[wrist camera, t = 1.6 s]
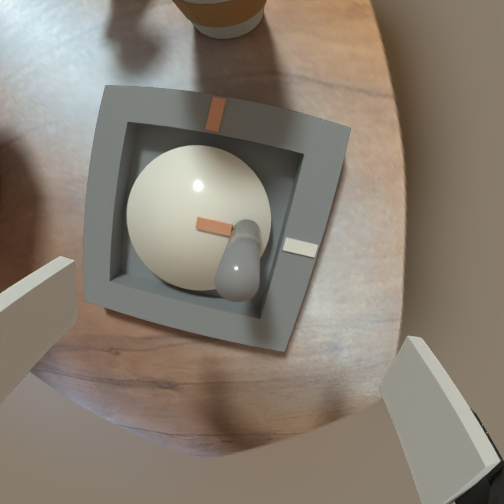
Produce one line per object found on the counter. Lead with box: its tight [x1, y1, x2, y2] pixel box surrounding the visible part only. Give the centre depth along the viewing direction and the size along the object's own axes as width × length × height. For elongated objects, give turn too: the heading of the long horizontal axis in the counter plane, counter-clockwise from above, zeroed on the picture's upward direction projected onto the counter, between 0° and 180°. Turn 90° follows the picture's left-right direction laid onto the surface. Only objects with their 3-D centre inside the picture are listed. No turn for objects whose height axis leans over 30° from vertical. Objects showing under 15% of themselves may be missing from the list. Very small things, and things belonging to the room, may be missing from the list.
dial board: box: [83, 85, 351, 352], centre depth 24 cm, size 20×20×3 cm
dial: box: [127, 145, 271, 302], centre depth 19 cm, size 12×12×11 cm
